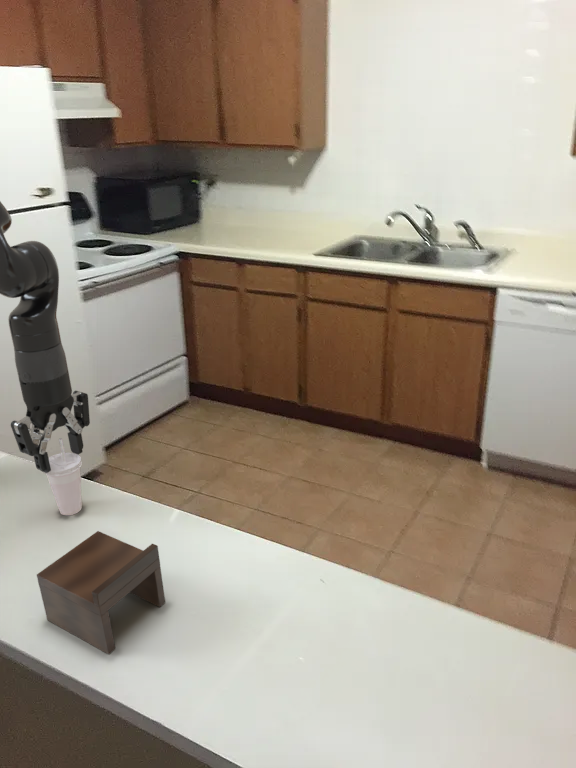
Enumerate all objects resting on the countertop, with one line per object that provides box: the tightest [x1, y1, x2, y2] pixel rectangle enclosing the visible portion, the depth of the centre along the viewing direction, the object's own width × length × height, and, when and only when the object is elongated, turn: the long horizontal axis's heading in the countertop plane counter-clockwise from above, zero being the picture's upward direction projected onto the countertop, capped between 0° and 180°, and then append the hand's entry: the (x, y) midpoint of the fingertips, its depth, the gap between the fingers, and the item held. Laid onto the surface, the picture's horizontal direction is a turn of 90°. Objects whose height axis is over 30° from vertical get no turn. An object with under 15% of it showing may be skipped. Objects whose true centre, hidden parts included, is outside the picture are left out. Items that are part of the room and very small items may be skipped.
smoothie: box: [43, 437, 83, 516], centre depth 114 cm, size 6×6×14 cm
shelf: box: [36, 530, 166, 655], centre depth 92 cm, size 12×11×10 cm
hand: (61, 461), depth 113 cm, fingers closed on smoothie, 6 cm apart
